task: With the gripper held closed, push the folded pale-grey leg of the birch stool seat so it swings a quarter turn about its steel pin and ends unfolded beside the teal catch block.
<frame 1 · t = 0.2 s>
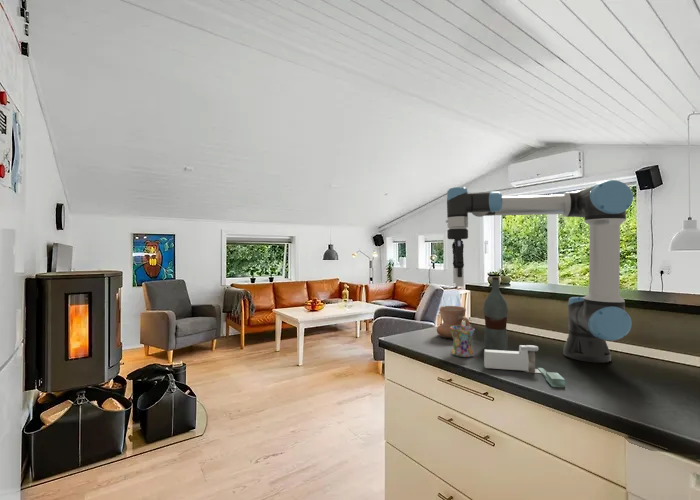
hand: (458, 284, 133), 28 cm above the worktop, fingers open, 13 cm apart
bottle: (495, 349, 146), on the worktop
hinged leg: (511, 356, 120), point 4 cm above the worktop, hinge at 0.0°
ceramic jug: (453, 338, 166), on the worktop
stool seat: (510, 362, 128), on the worktop
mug: (460, 354, 138), on the worktop
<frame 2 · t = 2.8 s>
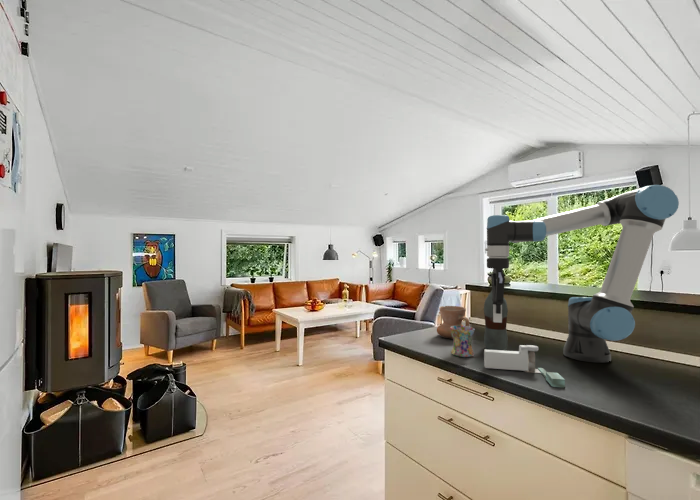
hand: (497, 322, 128), 15 cm above the worktop, fingers closed
nothing on the worktop moved.
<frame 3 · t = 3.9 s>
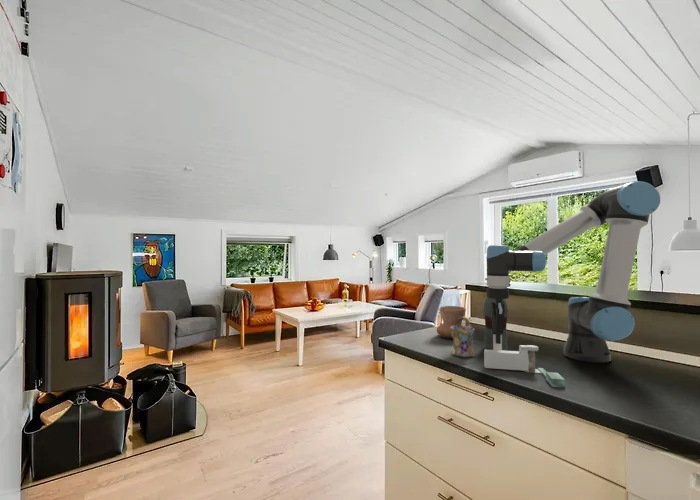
hand: (497, 351, 128), 4 cm above the worktop, fingers closed
nothing on the worktop moved.
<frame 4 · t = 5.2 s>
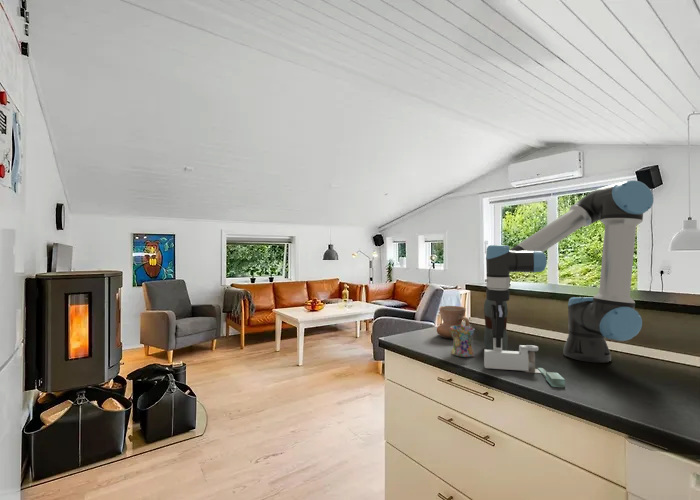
hand: (497, 355, 123), 4 cm above the worktop, fingers closed
hinged leg: (511, 356, 120), point 4 cm above the worktop, hinge at 0.5°, touching gripper
everything else where it was.
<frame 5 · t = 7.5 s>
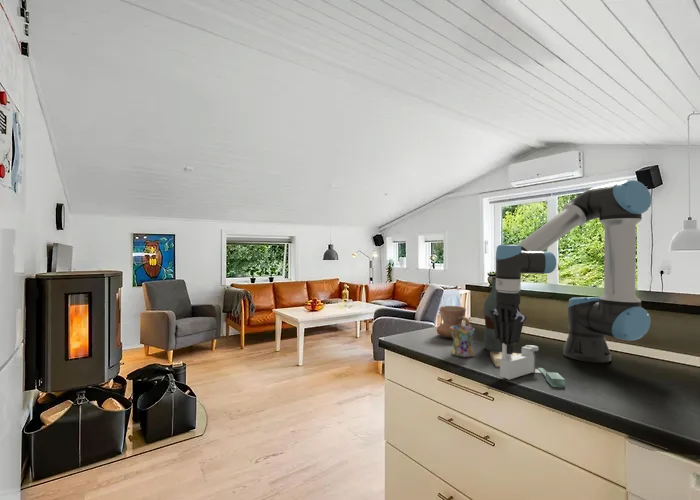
hand: (506, 363, 115), 4 cm above the worktop, fingers closed
hinged leg: (520, 361, 115), point 4 cm above the worktop, hinge at 45.3°, touching gripper
everything else where it was.
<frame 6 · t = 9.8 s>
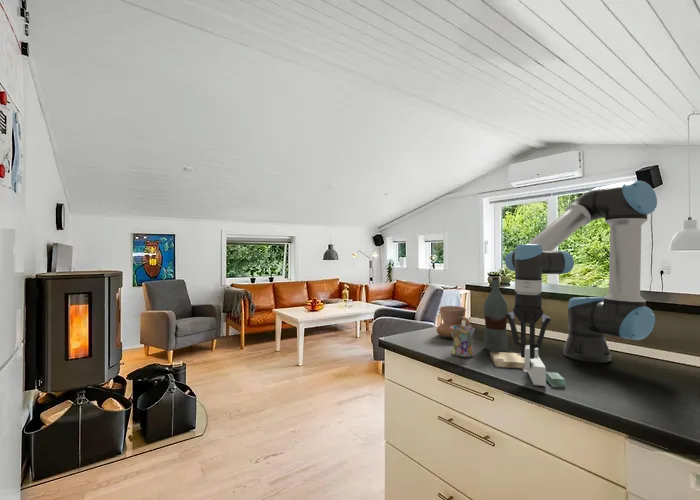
hand: (527, 368, 110), 4 cm above the worktop, fingers closed
hinged leg: (534, 363, 112), point 4 cm above the worktop, hinge at 83.6°, touching gripper
everything else where it was.
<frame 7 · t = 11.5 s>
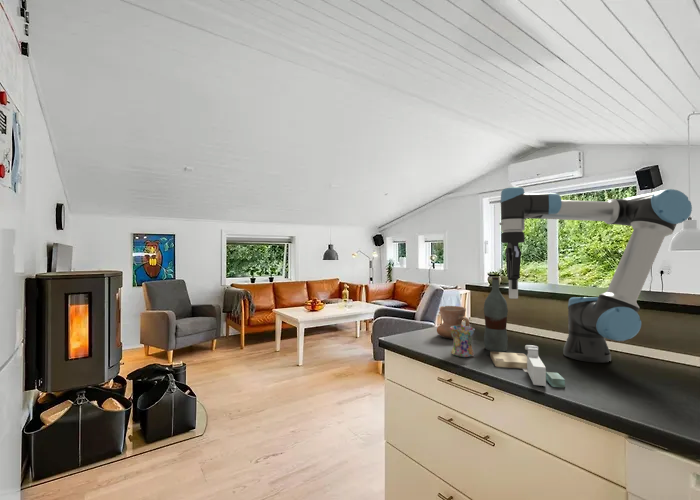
hand: (513, 298, 124), 24 cm above the worktop, fingers closed
hinged leg: (534, 363, 112), point 4 cm above the worktop, hinge at 83.6°
everything else where it was.
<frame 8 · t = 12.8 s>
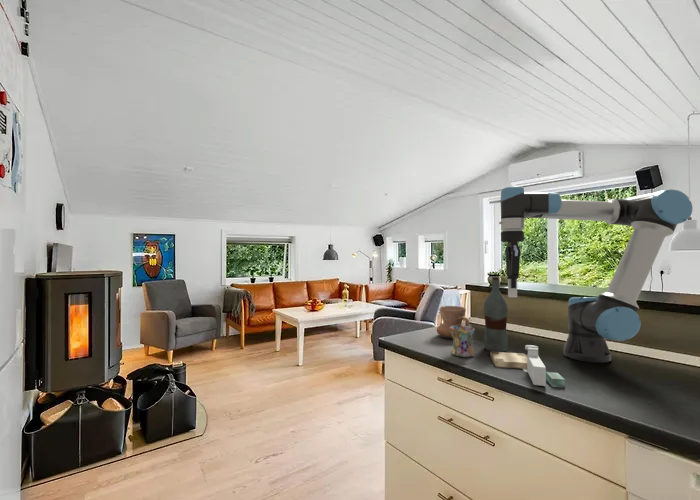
hand: (512, 297, 124), 24 cm above the worktop, fingers closed
nothing on the worktop moved.
at the end: hinged leg at +84° (first picture: +0°); the gripper is holding nothing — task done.
